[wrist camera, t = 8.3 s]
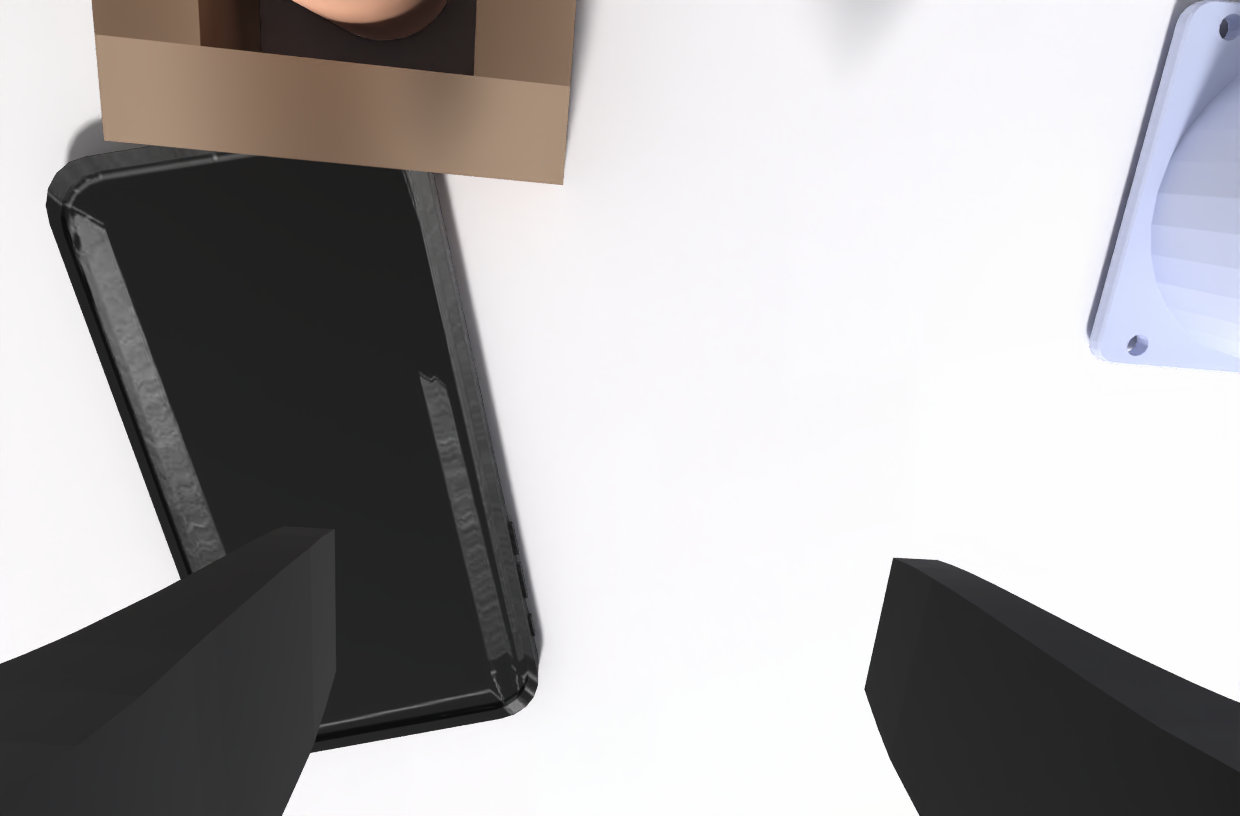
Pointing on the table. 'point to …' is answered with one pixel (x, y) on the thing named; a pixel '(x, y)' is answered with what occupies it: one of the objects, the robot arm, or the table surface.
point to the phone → (311, 407)
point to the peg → (377, 15)
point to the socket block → (338, 91)
